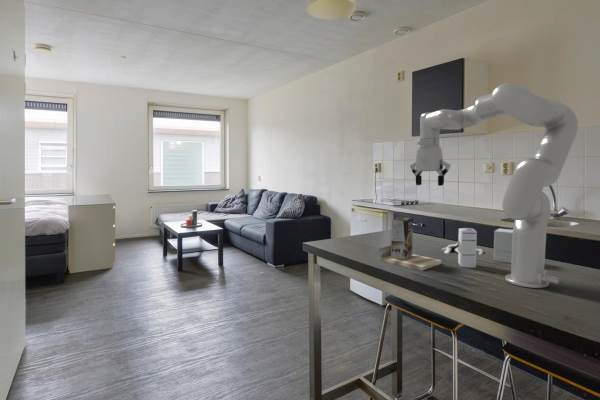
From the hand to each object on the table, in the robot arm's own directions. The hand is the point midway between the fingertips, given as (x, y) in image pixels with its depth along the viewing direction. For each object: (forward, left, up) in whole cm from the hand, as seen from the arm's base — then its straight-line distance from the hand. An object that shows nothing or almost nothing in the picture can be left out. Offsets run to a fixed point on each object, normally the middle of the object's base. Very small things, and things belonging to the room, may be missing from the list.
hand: (429, 185), depth 153 cm
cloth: (-2, -23, -32) cm, 39 cm away
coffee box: (+6, +9, -30) cm, 32 cm away
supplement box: (-22, -22, -31) cm, 44 cm away
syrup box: (-15, -3, -31) cm, 35 cm away
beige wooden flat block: (+3, +9, -31) cm, 33 cm away
